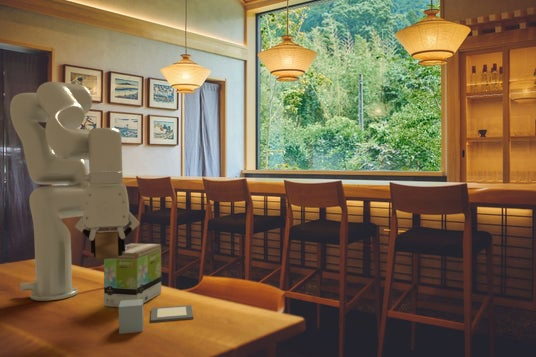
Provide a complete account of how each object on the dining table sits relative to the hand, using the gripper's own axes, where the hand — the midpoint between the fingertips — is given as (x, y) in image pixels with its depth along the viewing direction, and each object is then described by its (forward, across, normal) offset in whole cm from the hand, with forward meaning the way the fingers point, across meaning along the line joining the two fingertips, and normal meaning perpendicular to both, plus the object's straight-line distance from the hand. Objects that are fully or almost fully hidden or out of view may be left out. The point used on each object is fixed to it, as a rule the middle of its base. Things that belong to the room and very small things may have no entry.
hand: (108, 254), depth 115 cm
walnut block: (+1, 0, 0) cm, 1 cm away
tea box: (+16, +4, +16) cm, 23 cm away
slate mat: (+16, +14, +1) cm, 21 cm away
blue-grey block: (+16, +6, -8) cm, 19 cm away
